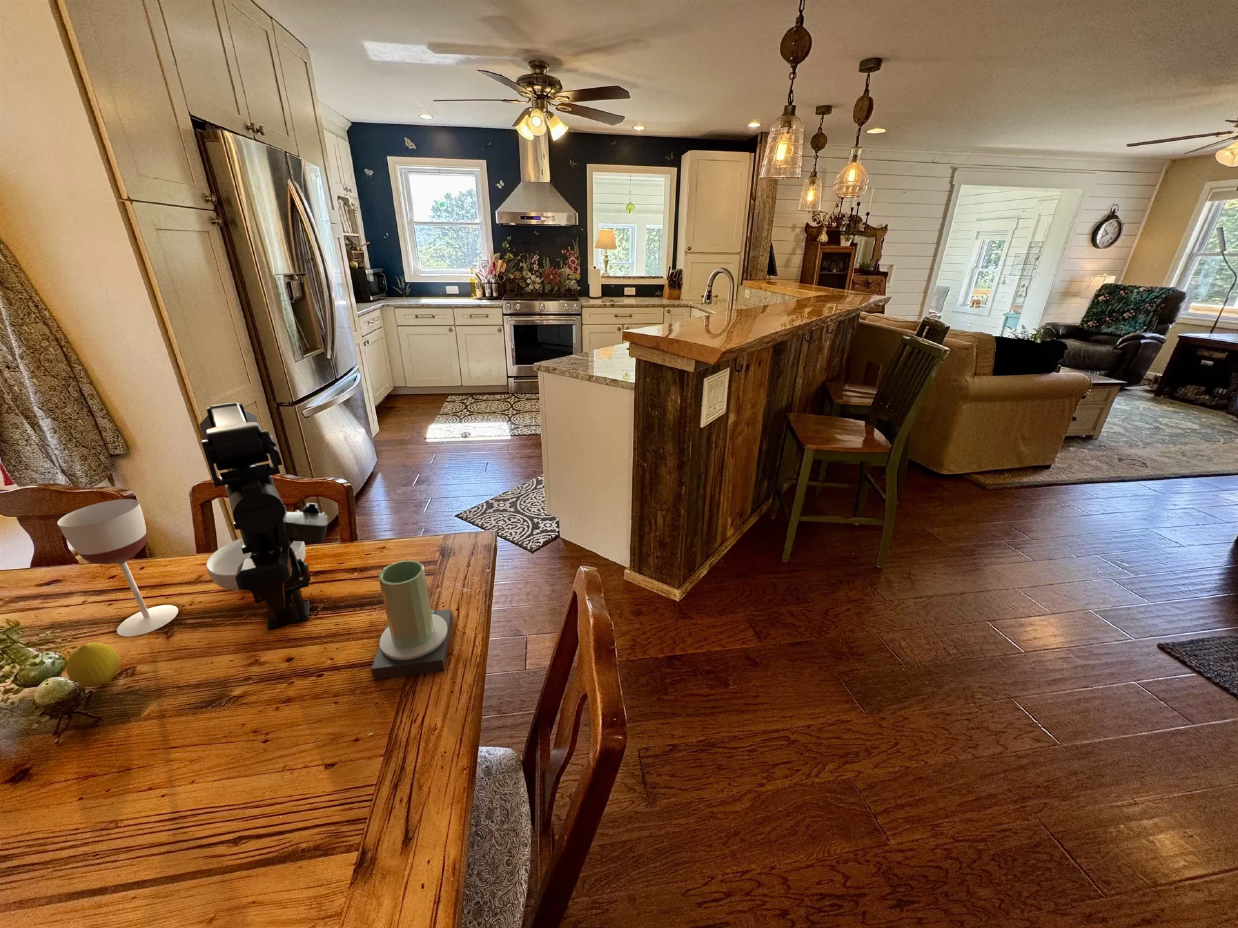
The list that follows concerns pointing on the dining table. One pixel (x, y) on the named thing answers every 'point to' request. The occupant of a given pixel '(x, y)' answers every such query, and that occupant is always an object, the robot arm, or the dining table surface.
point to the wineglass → (116, 552)
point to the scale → (414, 651)
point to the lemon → (93, 664)
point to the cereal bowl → (236, 563)
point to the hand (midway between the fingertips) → (283, 592)
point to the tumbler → (407, 603)
